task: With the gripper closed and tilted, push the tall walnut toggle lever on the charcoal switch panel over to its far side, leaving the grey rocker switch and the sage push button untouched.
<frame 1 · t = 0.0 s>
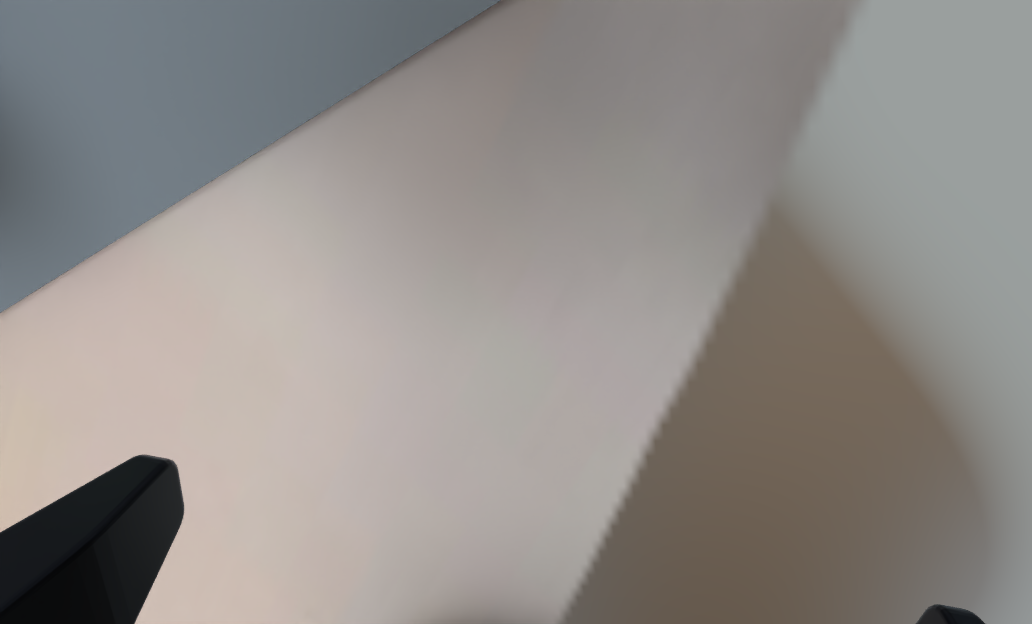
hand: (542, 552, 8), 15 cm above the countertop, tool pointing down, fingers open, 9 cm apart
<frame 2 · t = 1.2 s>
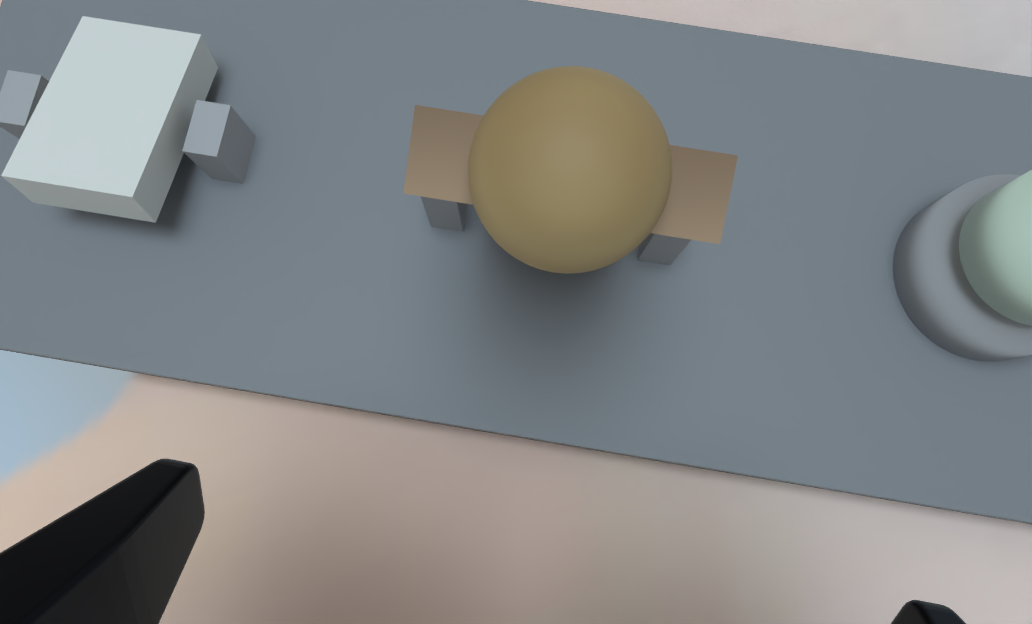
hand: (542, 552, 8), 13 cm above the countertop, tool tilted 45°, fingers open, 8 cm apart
switch panel: (553, 224, 23), on the countertop
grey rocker: (118, 117, 20), point 3 cm above the countertop, hinge at 10.0°
walnut lever: (562, 187, 14), point 8 cm above the countertop, hinge at -20.0°
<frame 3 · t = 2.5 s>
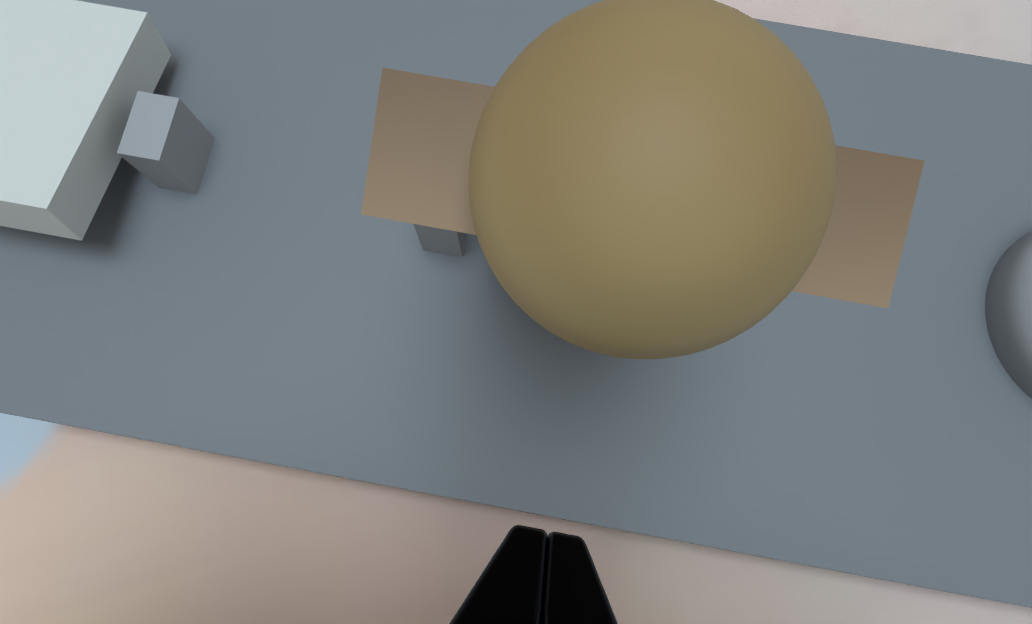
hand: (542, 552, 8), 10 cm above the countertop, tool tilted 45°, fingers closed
switch panel: (570, 249, 19), on the countertop
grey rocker: (41, 110, 16), point 3 cm above the countertop, hinge at 10.0°
walnut lever: (596, 206, 11), point 8 cm above the countertop, hinge at -20.0°
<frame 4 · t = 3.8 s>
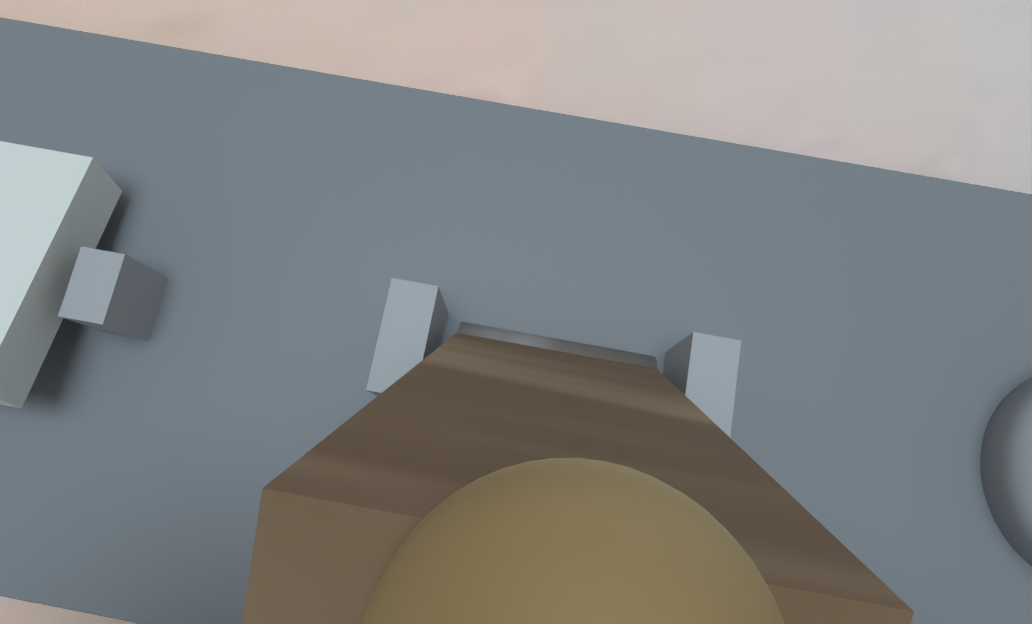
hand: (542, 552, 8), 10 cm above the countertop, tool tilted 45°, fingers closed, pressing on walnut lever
switch panel: (545, 387, 18), on the countertop
walnut lever: (555, 442, 10), point 8 cm above the countertop, hinge at -16.8°, touching gripper
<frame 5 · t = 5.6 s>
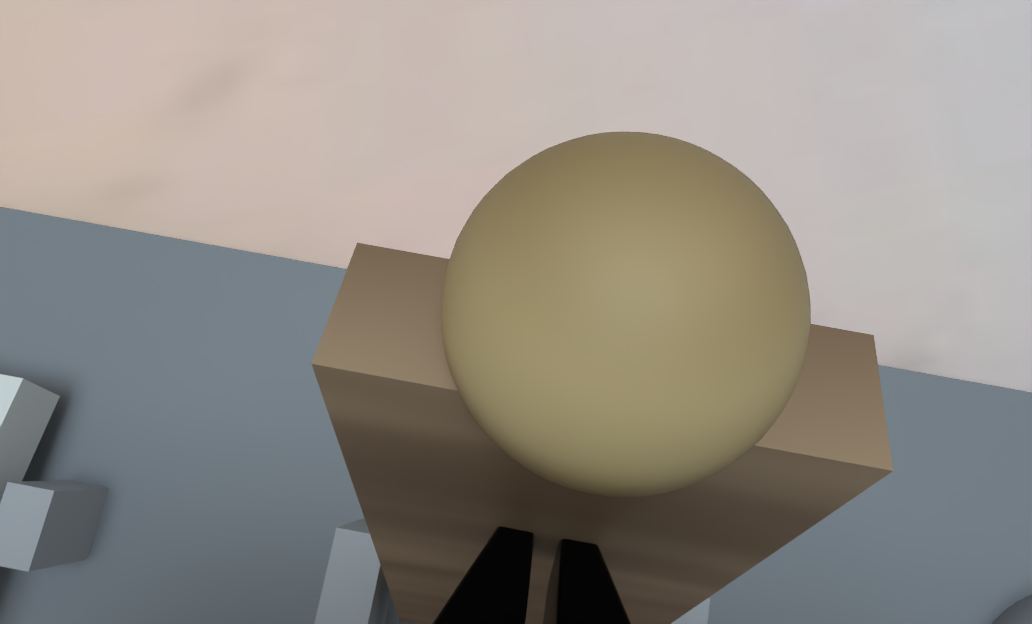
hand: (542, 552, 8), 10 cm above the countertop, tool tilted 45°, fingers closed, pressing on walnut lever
switch panel: (509, 591, 17), on the countertop
walnut lever: (540, 530, 10), point 8 cm above the countertop, hinge at 21.1°, touching gripper
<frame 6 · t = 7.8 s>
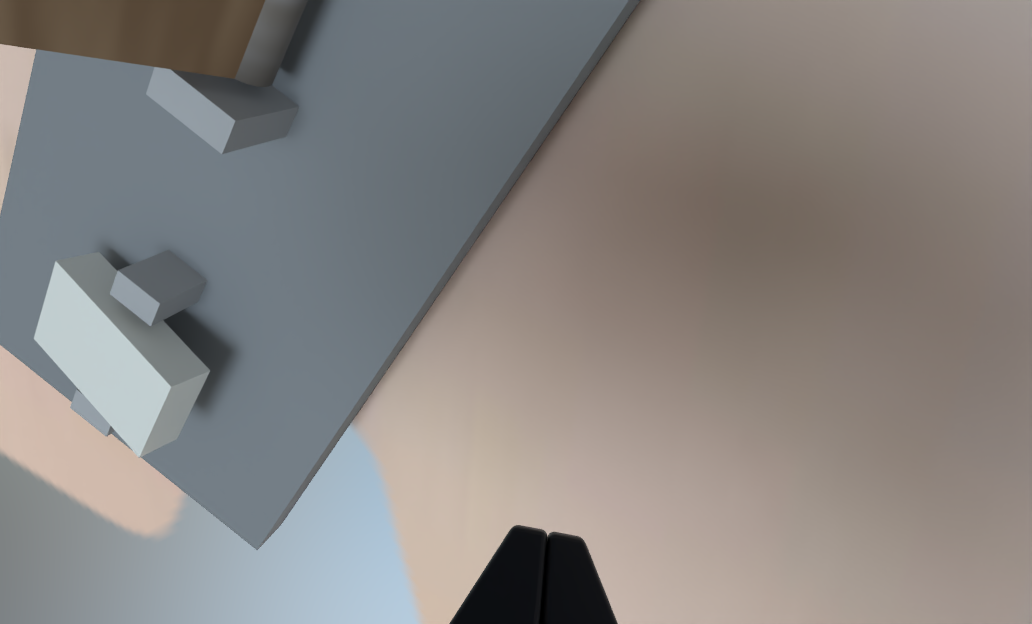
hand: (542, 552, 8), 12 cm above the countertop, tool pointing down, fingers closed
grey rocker: (119, 354, 23), point 3 cm above the countertop, hinge at 10.0°
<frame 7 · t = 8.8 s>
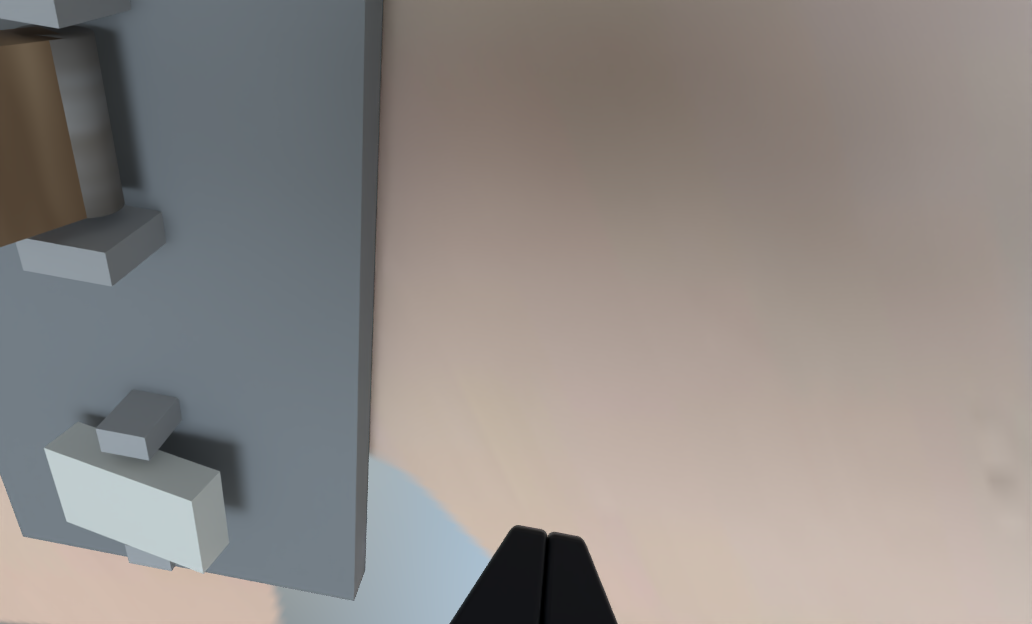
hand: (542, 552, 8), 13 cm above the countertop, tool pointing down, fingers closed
switch panel: (136, 96, 20), on the countertop
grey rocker: (140, 497, 24), point 3 cm above the countertop, hinge at 10.0°
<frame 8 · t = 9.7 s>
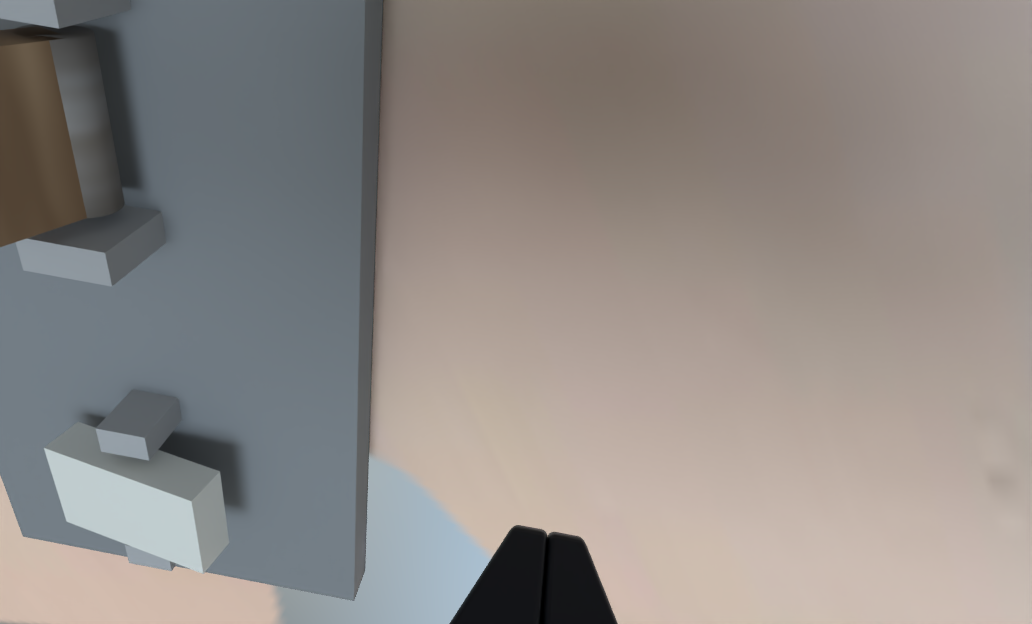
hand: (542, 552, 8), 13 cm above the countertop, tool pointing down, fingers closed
switch panel: (136, 96, 20), on the countertop
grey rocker: (140, 497, 24), point 3 cm above the countertop, hinge at 10.0°
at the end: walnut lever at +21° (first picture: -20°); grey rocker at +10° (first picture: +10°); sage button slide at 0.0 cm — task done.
